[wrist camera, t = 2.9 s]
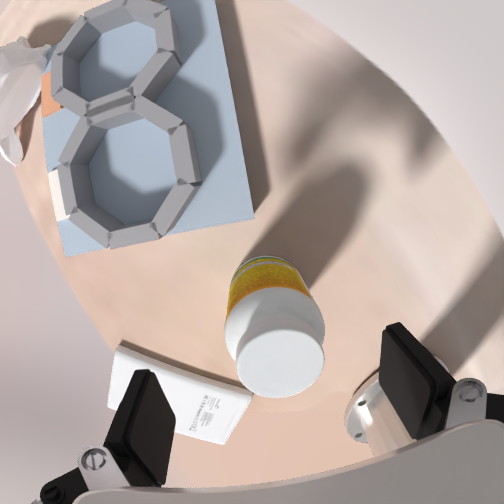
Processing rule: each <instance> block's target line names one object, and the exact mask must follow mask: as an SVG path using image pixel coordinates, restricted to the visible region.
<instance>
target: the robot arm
mask: <svg viewBox="0 0 504 504" xmlns="http://www.w3.org/2000/svg"><path fill="white" fill-rule="evenodd" d="M344 423H345V427H346V429H347V432H348V434H349V435H350V437H351V438H353V439H354V440H356V441H359V442H361V443H368V444H369V446H370V448H371V450H372V453H373V455H374V458H371V459H368V460H365V461H362V462H358V463H355V464H352V465H348V466H345V467H341V468H337V469H333V470H329V471H325V472H321V473H317V474H312V475H308V476H303V477H298V478H293V479H287V480H281V481H275V482H268V483H260V484H251V485H241V486H229V487H211V488H162V487H161V485H164V484H165V482H166V476H167V470H168V464H169V458H170V452H171V447H172V441H173V436H174V430H175V425H176V417H175V414H174V412H173V410H172V408H171V406H170V404H169V402H168V400H167V398H166V396H165V394H164V392H163V390H162V388H161V385H160V383H159V381H158V379H157V377H156V374H155V373H154V372H151V371H150V370H149V369H137V370H135V371H134V373H133V375H132V378H131V380H130V382H129V385H128V387H127V390H126V392H125V394H124V397H123V399H122V401H121V402H120V404H119V406H118V409H117V412H116V414H115V416H114V419H113V421H112V424H111V426H110V429H109V432H108V434H107V437H106V439H105V442H104V444H103V446H100V445H93V446H90V447H88V448H86V449H84V450H83V451H82V452H81V454H80V455H79V457H78V466H79V467H77V468H76V469H74V470H72V471H70V472H68V473H66V474H64V475H62V476H60V477H58V478H56V479H54V480H52V481H50V482H48V483H47V484H45V485H44V486H43V488H42V489H41V492H40V498H41V500H40V501H38V500H35V501H34V502H32V503H31V504H504V395H499V394H491V393H487V390H486V387H485V385H484V384H483V383H482V382H481V381H480V380H477V379H474V378H464V379H461V380H459V381H458V382H456V380H455V379H454V378H453V377H452V376H451V375H450V374H449V371H448V368H447V366H446V365H445V364H444V363H443V361H442V360H441V359H439V358H438V357H437V356H434V355H432V354H431V353H430V352H429V351H428V350H427V349H426V348H425V347H424V346H422V345H421V344H420V342H419V341H418V340H417V339H416V338H415V337H414V336H413V335H412V334H411V333H410V332H409V331H408V330H407V329H406V328H405V327H404V326H403V325H402V324H401V323H400V322H397V323H394V324H391V325H387V326H386V329H385V330H383V332H382V344H381V357H380V368H379V372H377V373H376V374H374V375H373V376H372V377H371V378H370V379H368V380H367V381H366V382H365V383H364V384H363V385H362V386H361V387H360V388H359V390H358V391H357V392H356V393H355V394H354V396H353V397H352V399H351V401H350V402H349V404H348V406H347V409H346V411H345V416H344Z"/></svg>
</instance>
